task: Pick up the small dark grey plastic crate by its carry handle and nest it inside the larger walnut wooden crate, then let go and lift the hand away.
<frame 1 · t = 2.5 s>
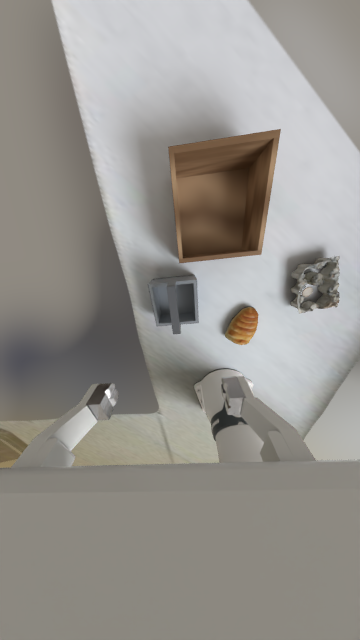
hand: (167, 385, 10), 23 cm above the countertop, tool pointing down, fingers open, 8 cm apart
pastry: (239, 324, 35), on the countertop
small crate: (175, 297, 31), on the countertop
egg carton: (305, 284, 30), on the countertop
big crate: (211, 218, 25), on the countertop
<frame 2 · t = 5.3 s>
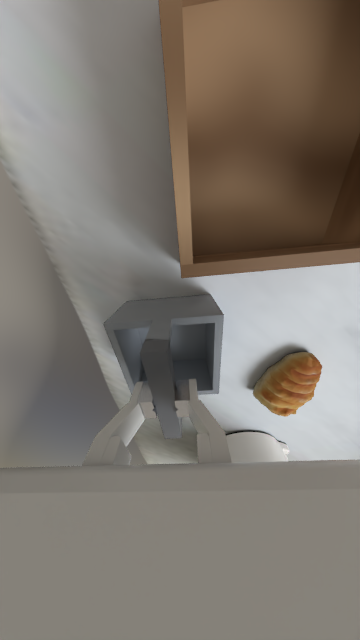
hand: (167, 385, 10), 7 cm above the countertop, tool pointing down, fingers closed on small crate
pastry: (277, 375, 20), on the countertop
small crate: (172, 333, 17), on the countertop, touching gripper
big crate: (261, 161, 10), on the countertop
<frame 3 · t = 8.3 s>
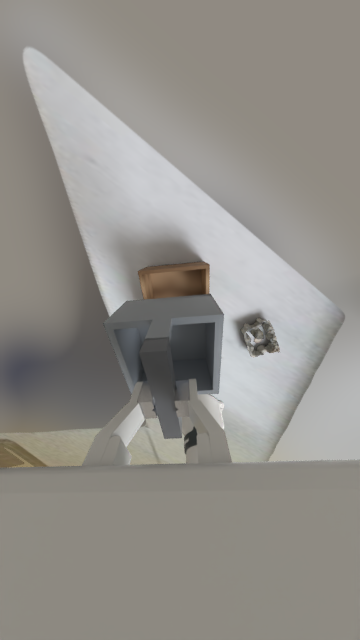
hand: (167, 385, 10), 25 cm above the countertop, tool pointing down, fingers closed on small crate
small crate: (172, 333, 17), point 18 cm above the countertop, touching gripper
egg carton: (255, 334, 39), on the countertop
big crate: (177, 292, 33), on the countertop
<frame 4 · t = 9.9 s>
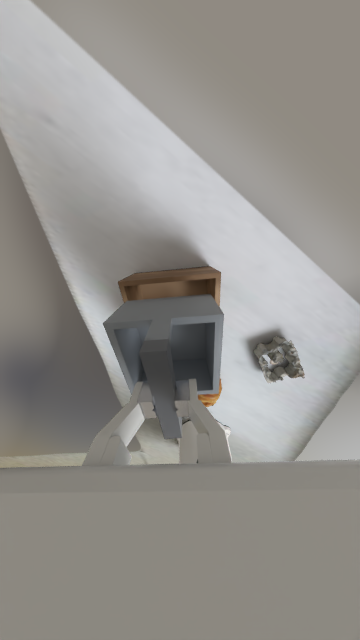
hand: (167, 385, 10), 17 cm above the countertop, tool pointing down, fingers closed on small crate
pastry: (206, 384, 36), on the countertop
small crate: (172, 333, 17), point 10 cm above the countertop, touching gripper
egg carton: (271, 355, 31), on the countertop
big crate: (175, 305, 26), on the countertop
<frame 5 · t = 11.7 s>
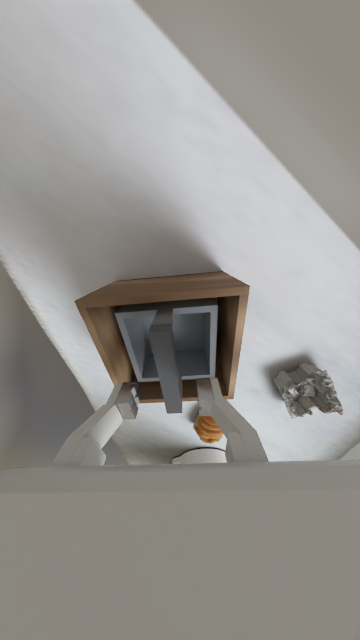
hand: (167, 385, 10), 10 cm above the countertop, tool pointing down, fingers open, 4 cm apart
pastry: (209, 413, 30), on the countertop
small crate: (173, 325, 18), point 1 cm above the countertop, touching big crate
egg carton: (295, 382, 25), on the countertop
big crate: (173, 323, 19), on the countertop
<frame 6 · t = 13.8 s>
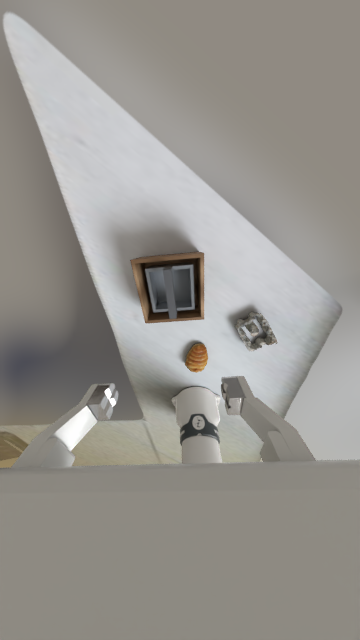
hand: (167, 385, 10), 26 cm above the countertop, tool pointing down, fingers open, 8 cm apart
pastry: (195, 354, 43), on the countertop
small crate: (172, 284, 32), point 1 cm above the countertop, touching big crate
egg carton: (250, 328, 39), on the countertop
big crate: (173, 283, 32), on the countertop
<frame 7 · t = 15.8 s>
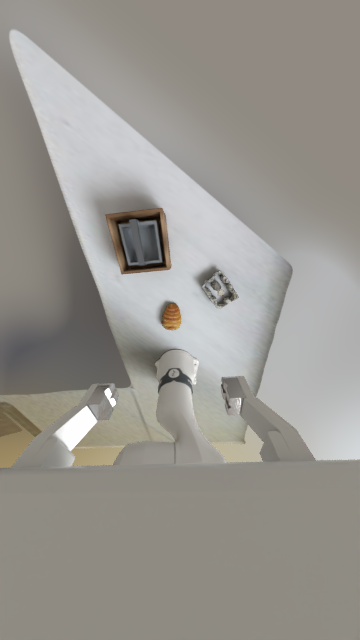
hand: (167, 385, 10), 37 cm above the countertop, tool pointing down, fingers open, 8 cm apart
pastry: (171, 316, 49), on the countertop
small crate: (146, 245, 38), point 1 cm above the countertop, touching big crate
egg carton: (217, 289, 45), on the countertop
big crate: (146, 245, 39), on the countertop
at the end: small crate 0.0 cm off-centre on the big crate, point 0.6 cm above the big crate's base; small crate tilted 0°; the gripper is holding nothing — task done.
